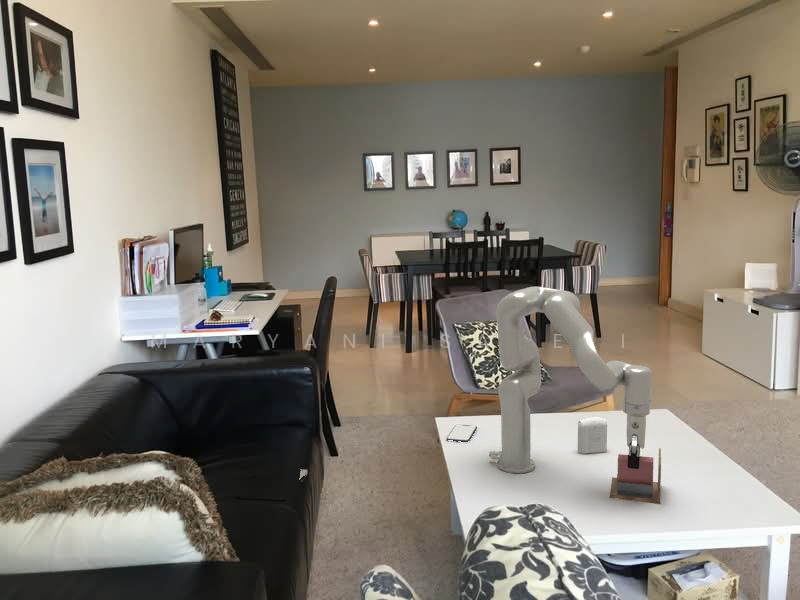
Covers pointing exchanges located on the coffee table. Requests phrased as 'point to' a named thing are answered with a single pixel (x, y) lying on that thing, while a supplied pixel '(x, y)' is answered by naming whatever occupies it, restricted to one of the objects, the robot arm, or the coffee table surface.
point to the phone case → (462, 433)
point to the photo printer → (592, 435)
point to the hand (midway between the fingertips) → (633, 461)
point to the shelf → (655, 497)
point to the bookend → (635, 490)
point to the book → (635, 470)
